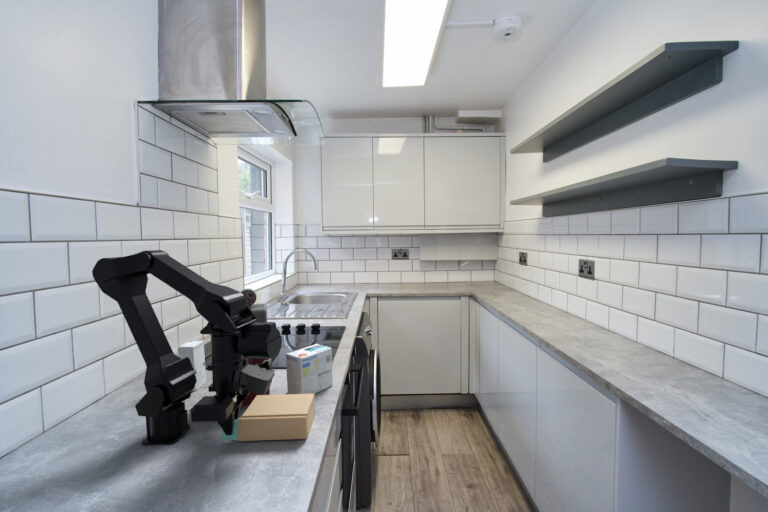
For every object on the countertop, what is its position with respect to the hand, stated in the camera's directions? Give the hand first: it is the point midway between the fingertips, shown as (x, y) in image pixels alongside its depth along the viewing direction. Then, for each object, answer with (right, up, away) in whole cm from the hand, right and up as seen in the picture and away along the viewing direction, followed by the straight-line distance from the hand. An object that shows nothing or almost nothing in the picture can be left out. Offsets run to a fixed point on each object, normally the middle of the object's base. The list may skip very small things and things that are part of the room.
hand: (230, 432), depth 68 cm
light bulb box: (+11, -1, +24) cm, 26 cm away
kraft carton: (+8, -2, +6) cm, 10 cm away
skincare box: (-22, -1, +27) cm, 35 cm away
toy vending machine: (-3, -1, +18) cm, 19 cm away
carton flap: (+7, -1, 0) cm, 7 cm away
